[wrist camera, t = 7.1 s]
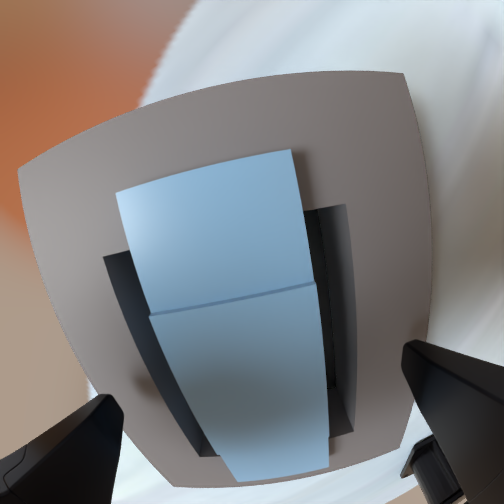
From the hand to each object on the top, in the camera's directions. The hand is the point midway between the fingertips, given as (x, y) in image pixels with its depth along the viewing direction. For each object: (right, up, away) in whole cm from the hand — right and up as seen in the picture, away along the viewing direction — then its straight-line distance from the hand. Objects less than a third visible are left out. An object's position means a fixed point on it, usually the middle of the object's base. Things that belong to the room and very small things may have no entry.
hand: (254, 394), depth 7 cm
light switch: (0, +1, +4) cm, 4 cm away
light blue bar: (0, +1, +4) cm, 4 cm away
